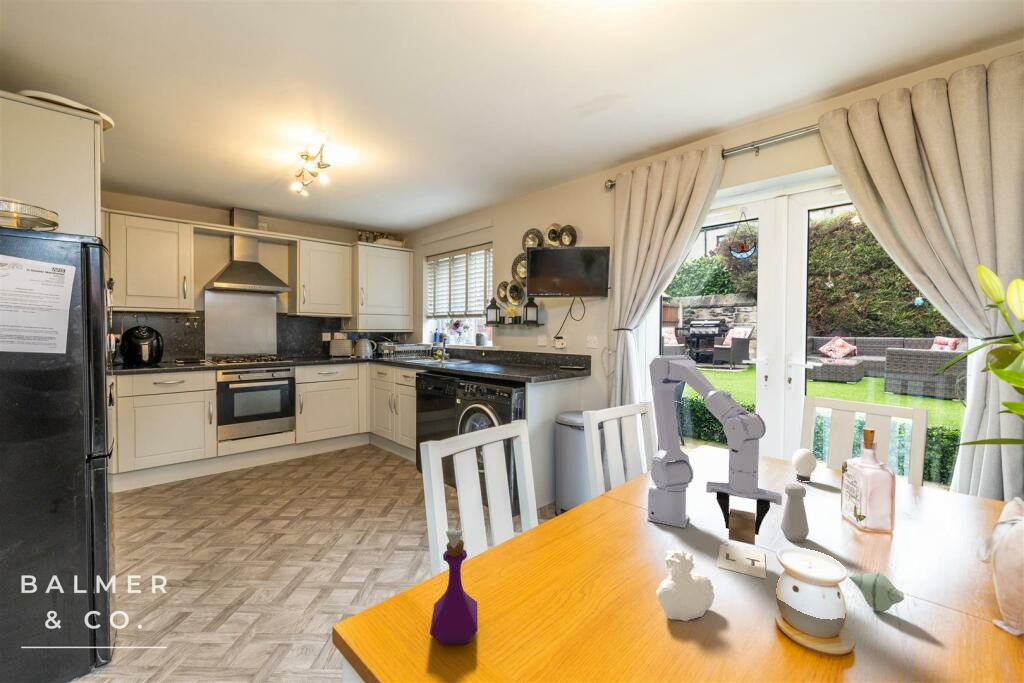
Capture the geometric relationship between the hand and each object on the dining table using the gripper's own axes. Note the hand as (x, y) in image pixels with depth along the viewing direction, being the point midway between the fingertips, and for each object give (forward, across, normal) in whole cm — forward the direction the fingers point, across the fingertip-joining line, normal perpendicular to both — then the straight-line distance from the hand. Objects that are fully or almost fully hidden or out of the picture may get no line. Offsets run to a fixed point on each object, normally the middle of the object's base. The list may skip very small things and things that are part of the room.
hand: (741, 529), depth 96 cm
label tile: (+7, 0, 0) cm, 7 cm away
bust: (+7, -9, -24) cm, 27 cm away
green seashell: (+7, +22, -7) cm, 24 cm away
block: (+2, 0, 0) cm, 2 cm away
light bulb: (+7, +17, +67) cm, 69 cm away
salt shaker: (+7, +11, +18) cm, 22 cm away
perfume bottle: (+7, -41, -50) cm, 65 cm away
